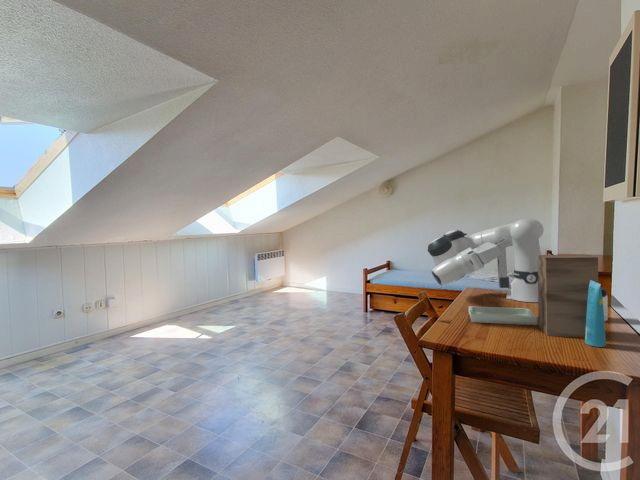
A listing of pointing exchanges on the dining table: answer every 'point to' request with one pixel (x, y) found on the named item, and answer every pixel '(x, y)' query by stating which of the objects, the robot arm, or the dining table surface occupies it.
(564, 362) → the dining table surface
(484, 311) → the tray
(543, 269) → the stand
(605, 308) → the jar
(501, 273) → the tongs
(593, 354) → the dining table surface
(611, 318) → the dining table surface
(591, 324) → the tube
